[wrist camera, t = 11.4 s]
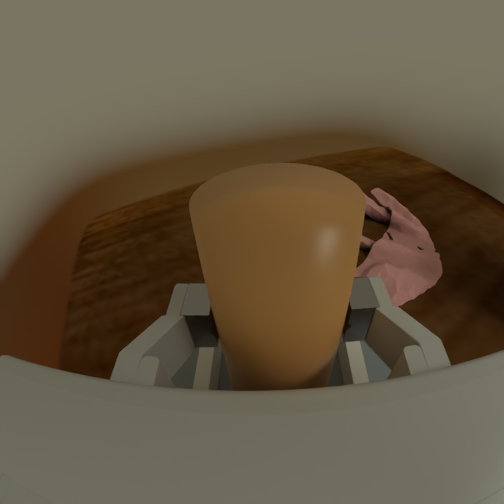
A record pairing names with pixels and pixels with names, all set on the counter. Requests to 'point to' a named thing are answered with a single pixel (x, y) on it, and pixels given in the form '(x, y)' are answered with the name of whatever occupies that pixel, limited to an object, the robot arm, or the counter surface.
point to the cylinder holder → (343, 373)
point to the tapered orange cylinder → (278, 269)
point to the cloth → (399, 251)
